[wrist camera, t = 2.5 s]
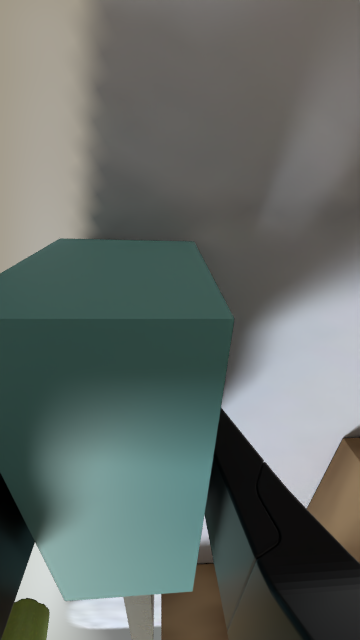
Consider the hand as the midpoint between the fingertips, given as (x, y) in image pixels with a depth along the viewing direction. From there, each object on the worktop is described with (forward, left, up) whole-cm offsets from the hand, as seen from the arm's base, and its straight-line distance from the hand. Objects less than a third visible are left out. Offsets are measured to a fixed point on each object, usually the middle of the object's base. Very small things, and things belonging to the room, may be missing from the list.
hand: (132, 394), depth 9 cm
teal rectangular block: (0, 0, -1) cm, 1 cm away
